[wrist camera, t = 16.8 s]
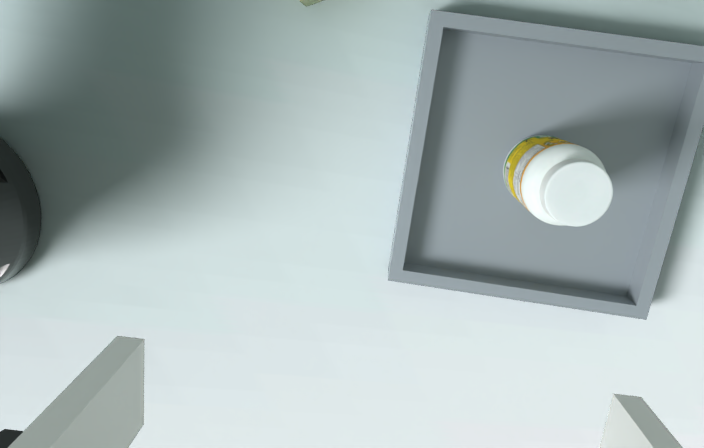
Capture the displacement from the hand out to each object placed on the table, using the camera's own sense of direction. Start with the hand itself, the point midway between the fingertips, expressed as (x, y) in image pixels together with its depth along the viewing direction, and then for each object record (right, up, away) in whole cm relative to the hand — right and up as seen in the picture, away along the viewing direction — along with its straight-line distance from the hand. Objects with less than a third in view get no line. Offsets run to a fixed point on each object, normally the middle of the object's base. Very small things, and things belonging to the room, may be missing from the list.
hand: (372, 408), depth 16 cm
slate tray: (+14, +9, +27) cm, 32 cm away
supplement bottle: (+14, +9, +27) cm, 32 cm away
